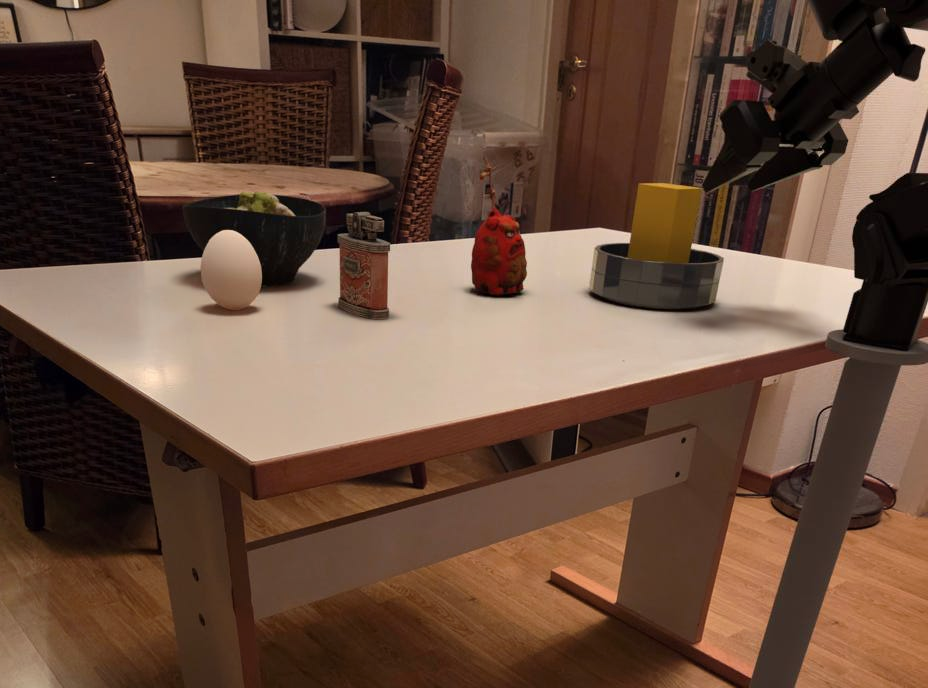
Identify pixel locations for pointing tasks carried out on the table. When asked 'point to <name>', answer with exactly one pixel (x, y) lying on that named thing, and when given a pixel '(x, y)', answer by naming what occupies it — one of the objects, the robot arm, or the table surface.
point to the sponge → (664, 222)
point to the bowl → (262, 228)
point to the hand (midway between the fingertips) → (727, 188)
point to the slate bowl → (655, 279)
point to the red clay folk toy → (498, 251)
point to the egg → (231, 270)
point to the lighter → (364, 267)
